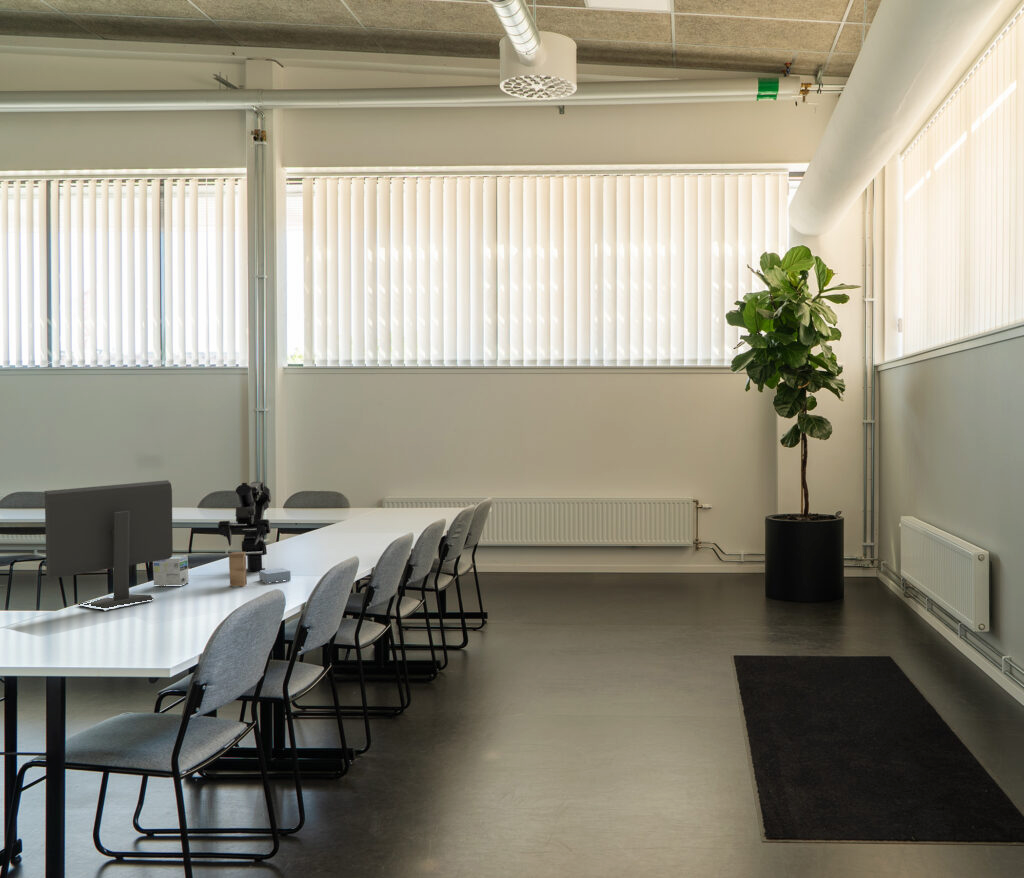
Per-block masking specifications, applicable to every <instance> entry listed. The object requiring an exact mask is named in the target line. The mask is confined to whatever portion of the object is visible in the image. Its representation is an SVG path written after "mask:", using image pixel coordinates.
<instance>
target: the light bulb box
mask: <svg viewBox="0 0 1024 878" xmlns="http://www.w3.org/2000/svg"><path fill="white" fill-rule="evenodd" d="M188 559H189V558H188V555H172V557H171V558H169V559H165V560H159V561H153V562H152V571H153V575H152V576H153V586H154V585H159V586H164V585H165V586H166V585H183V584H186V583H188V582H189V581H190V580H189V562H188ZM189 583H190V582H189ZM186 585H187V584H186Z"/></svg>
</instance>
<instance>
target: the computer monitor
mask: <svg viewBox="0 0 1024 878" xmlns="http://www.w3.org/2000/svg"><path fill="white" fill-rule="evenodd" d="M44 516H45V517H44V521H45V522H44V523H45V524H44V525H45V526H44V527H45V566H46V567H45V569H46V570H45V572H46V573H45V575H46V577H45V578H46V580H51V579H52V580H53V579H57V578H63V577H68V576H69V577H70V576H75V575H81V574H87V573H93V572H98V571H105V570H110V569H113V596H112V597H113V598H109V597H110V596H109V597H104V598H99V599H100V600H98V599H96V600H97V601H94V602H91V603H87V602H90V601H91V600H88V601H83V602H80V603H78V604H77V606H78V605H80V604H83V603H87V604H84V605H89V604H91V606H96V607H101V608H109V607H114V606H117V605H124V604H130V603H135V602H142V601H147V600H152V599H154V597H153V596H152V595H151V594H133V593H132V594H130V566H134V565H140V564H147V563H151V562H152V563H153V561H159V560H165V559H169V558H171V557H172V556H173V552H174V551H173V550H174V549H173V543H174V542H173V488H172V483H171V482H170V480H168V479H167V480H166V479H165V480H156V481H143V482H135V483H134V482H133V483H121V484H110V485H100V486H99V485H98V486H87V487H77V488H75V487H74V488H63V489H53V490H52V489H51V490H44ZM152 601H153V600H152Z"/></svg>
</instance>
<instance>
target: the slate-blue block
mask: <svg viewBox="0 0 1024 878" xmlns="http://www.w3.org/2000/svg"><path fill="white" fill-rule="evenodd" d="M258 572H259V573H258V577H259V581H260V580H262V581H264V582H266V583H269V582H276V581H283V580H291V570H289V569H286V568H284V567H278V568H277V567H276V568H270V569H266V570H260V571H258ZM262 581H261V582H262ZM264 582H263V583H264ZM266 583H265V584H266ZM269 584H270V583H269Z"/></svg>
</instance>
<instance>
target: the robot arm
mask: <svg viewBox="0 0 1024 878" xmlns="http://www.w3.org/2000/svg"><path fill="white" fill-rule="evenodd" d="M235 494H236V498H237V502H238V504H239V507H235V522H236V523H231V521H230V520H221V521H219V522H218V523H217V529H218V532H219V534H220V536H223V537H225V538H226V539H227V541H228V542H227V543H228V546H229V547H231V545H232V537H233V536H232V530H233V531H234V530H240V531H245V532H244V536H243V540H242V541H241V552H246V572H251V573H252V572H253V573H254V572H259V570H265V569H266V568H265V567H263V556H265V555H266V556H267V554H268V553H267V550H268V549H267V545H266V543H265V540H264V538H263V537H264V536H267V534H268V535H269V534H270V533H271V529H272V528H271V521H270V520H269V519H268V518H267V519H265V518H264V515H265V514H264V513H265V511H266V510H268V509H269V507H270V503H271V502H272V494H271V491H270V488H269V487H267V486H265V483H264V481H252V482H250V484H249V485H248V482H242V483H241V484H240V485H238V486H237V487H236V488H235ZM266 570H267V569H266Z"/></svg>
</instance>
